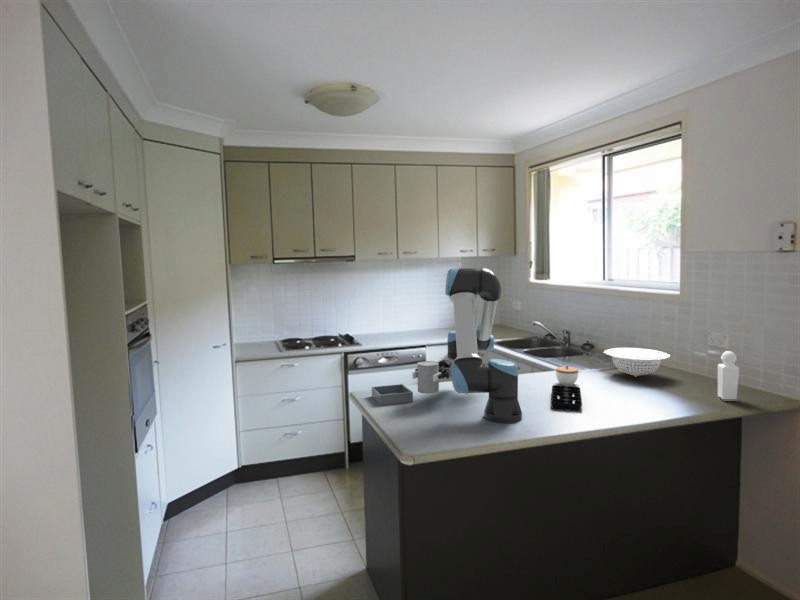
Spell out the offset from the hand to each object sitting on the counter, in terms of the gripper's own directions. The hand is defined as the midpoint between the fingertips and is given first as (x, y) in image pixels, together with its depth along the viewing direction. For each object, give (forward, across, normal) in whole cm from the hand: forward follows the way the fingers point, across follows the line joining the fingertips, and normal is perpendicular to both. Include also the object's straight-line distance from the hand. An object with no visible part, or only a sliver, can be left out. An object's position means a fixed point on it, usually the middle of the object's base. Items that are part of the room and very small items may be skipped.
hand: (423, 377), depth 229 cm
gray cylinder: (-4, 0, -7) cm, 9 cm away
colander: (-100, -72, -13) cm, 124 cm away
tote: (-4, +19, -13) cm, 23 cm away
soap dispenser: (-75, -112, -14) cm, 136 cm away
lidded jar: (-69, -44, -13) cm, 83 cm away
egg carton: (-39, -51, -14) cm, 66 cm away
